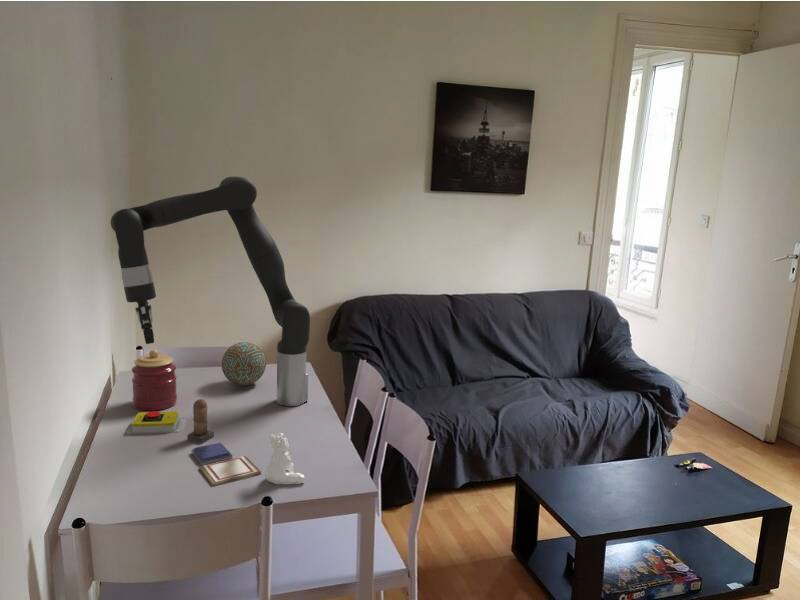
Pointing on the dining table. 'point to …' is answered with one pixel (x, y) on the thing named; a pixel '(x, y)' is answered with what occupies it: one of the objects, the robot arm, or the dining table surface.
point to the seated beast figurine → (281, 463)
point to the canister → (154, 382)
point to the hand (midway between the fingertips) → (150, 340)
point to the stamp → (200, 423)
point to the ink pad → (211, 453)
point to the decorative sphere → (243, 363)
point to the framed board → (229, 470)
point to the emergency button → (156, 423)
